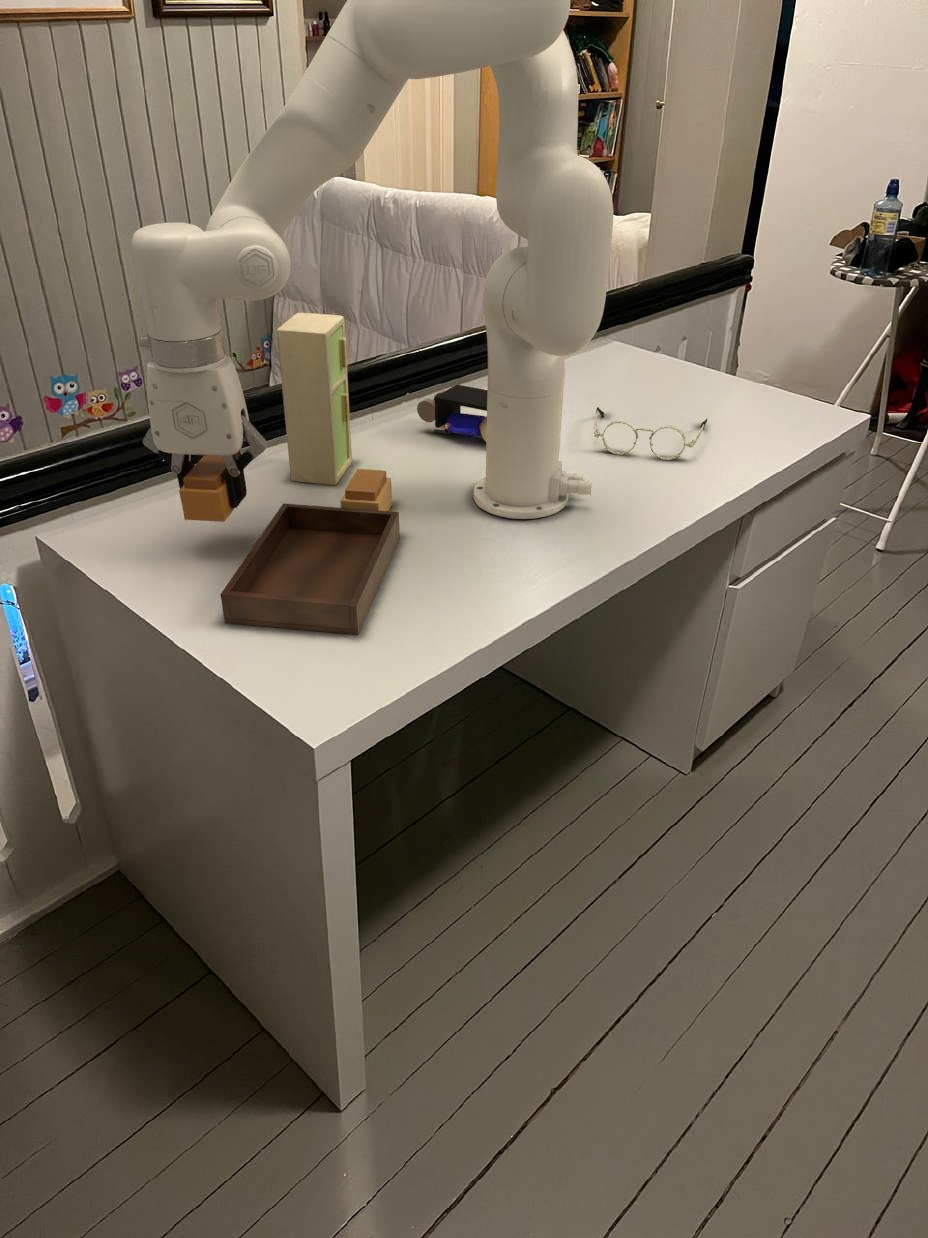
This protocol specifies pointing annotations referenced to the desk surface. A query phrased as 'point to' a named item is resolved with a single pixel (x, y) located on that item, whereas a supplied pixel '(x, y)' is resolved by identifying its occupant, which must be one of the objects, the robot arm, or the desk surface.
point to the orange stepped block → (206, 491)
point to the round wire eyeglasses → (649, 437)
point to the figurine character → (456, 411)
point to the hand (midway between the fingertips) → (215, 500)
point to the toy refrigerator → (315, 396)
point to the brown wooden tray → (313, 569)
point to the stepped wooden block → (368, 491)
